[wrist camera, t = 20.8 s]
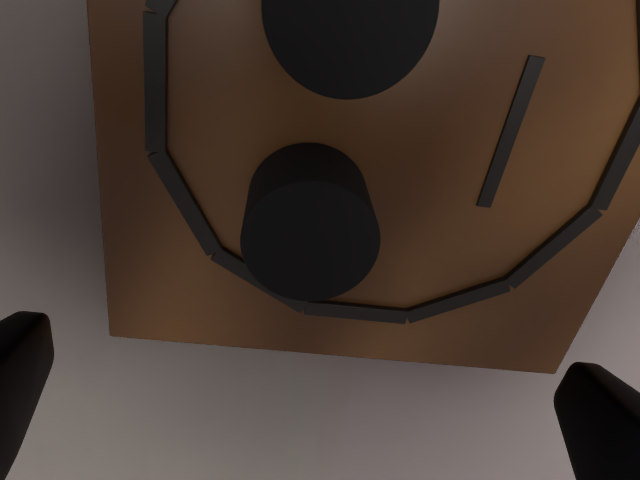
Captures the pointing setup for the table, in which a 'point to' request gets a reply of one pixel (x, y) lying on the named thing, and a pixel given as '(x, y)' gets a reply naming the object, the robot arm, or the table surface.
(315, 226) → the dot
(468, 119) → the board
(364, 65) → the dot
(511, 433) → the table surface
